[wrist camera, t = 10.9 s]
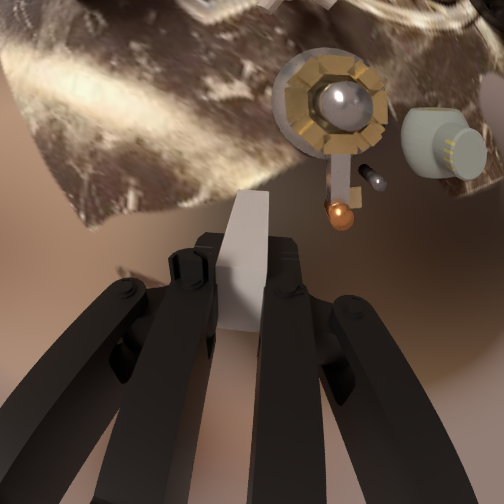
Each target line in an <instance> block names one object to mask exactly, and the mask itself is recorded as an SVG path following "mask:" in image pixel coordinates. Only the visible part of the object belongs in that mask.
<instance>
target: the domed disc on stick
mask: <svg viewBox="0 0 504 504" xmlns="http://www.w3.org/2000/svg"><path fill="white" fill-rule="evenodd" d="M322 76H335V77H344V78H345V79H346V80H347V81H349V82H354V83H357V84H359V85H361V86H362V87H363V88H364V89H365V90H366V91H367V92H368V93H369V95H370V96H371V99H372V102H373V115H372V117H371V119H370V121H369V122H368V124H367V125H365V126H364V127H363V128H361V129H359V130H354V131H324V130H323V129H322V128H321V127H320V126H319V125H318V124H317V123H315V122H314V121H313V120H312V119H311V118H310V117H309V108H308V94H307V91H308V90H309V89H310V88H311V87H312V86H313V85H314V84H315V83H316V82H317V81H318V80H319V79H320V78H321V77H322ZM380 79H381V77H380V76H379V75H378V74H377V73H376V72H375V71H374V70H373V69H372V68H371V67H367V66H366V65H365V64H364V63H363V62H362V61H361V60H357V61H354V57H351V56H337V55H317V56H316V57H314V59H313V58H312V57H311V58H310V59H309V60H308V61H307V62H306V63H305V64H304V65H303V66H302V67H301V68H300V69H299V70H298V71H297V72H296V73H295V74H294V75H293V76H292V77H291V78H290V79H289V80H288V81H287V82H286V83H287V84H288V85H289V86H290V87H285V88H284V96H285V107H286V120H287V121H288V122H292V123H291V124H290V125H289V126H290V127H291V128H292V129H293V130H294V131H295V132H296V133H297V134H299V135H300V136H301V137H302V138H303V139H304V140H305V141H306V142H308V143H309V144H310V145H311V146H312V147H313V148H314V149H315V150H316V151H317V152H318V151H319V150H321V152H322V153H323V154H326V163H327V164H326V165H327V166H326V170H327V171H326V172H327V191H326V193H327V194H326V200H325V202H324V208H325V210H326V213H327V215H328V217H329V219H330V222H331V224H332V226H333V227H334V228H335V229H336V230H340V231H343V230H347V229H349V228H350V227H351V226H352V225H353V223H354V214H353V212H352V211H351V209H350V207H349V196H350V162H351V154H357V150H358V149H359V150H361V151H362V152H364V151H365V150H366V149H367V148H368V147H369V146H372V147H373V146H374V145H375V144H376V143H377V142H378V141H379V140H380V139H381V138H382V136H381V133H383V132H384V131H385V129H384V127H383V126H382V125H381V124H387V123H388V108H387V91H382V90H380V89H381V88H382V87H383V86H384V84H383V83H382V82H381V81H380Z"/></svg>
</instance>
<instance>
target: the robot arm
mask: <svg viewBox="0 0 504 504" xmlns="http://www.w3.org/2000/svg"><path fill="white" fill-rule="evenodd" d="M470 1H471V2H472V4H473V5H474V6H475V8H476V9H477V10H478V11H479V12H480V14H481V15H482V16H483V17H484V18H485V19H486V20H487V21H488V22H489V23H491V24H492V25H493V26H494V27H496V28H497V29H499V30H501V31H503V32H504V0H470ZM268 207H269V192H267V191H254V190H238V193H237V197H236V200H235V203H234V206H233V209H232V213H231V216H230V219H229V222H228V226H227V229H226V232H225V234H223V233H209V232H205V233H204V234H203V235H202V236H200V237H199V238H198V239H197V242H196V244H195V247H194V248H186V249H182V250H178V251H176V252H175V253H173V254H172V255H171V256H170V257H169V258H168V261H169V268H170V275H171V282H170V285H167V286H164V287H159V288H150V289H146V286H145V284H144V283H143V281H141V280H139V279H137V278H131V277H130V278H122V279H120V280H117V281H115V282H114V283H112V284H111V285H110V286H109V287H108V288H107V289H106V290H104V291H103V292H102V293H101V294H100V295H99V296H98V297H97V298H96V299H95V300H94V301H93V302H92V303H91V305H89V306H88V307H87V309H85V310H84V311H83V313H82V314H81V315H80V316H79V317H78V318H77V319H76V320H75V321H74V322H73V323H72V324H71V325H70V326H69V327H68V328H67V330H65V331H64V333H63V334H62V335H61V336H60V337H59V338H58V339H57V340H56V341H55V342H54V343H53V345H52V346H51V347H50V348H49V349H48V350H47V351H46V352H45V354H44V355H43V356H42V357H41V358H40V359H39V361H38V362H37V363H36V364H35V365H34V366H33V367H32V369H31V370H30V371H29V372H28V374H27V375H26V376H25V377H24V378H23V380H22V381H21V382H20V383H19V385H18V386H17V387H16V388H15V390H14V391H13V392H12V393H11V395H10V396H9V397H8V398H7V400H6V401H5V402H4V404H3V405H2V407H1V408H0V504H59V503H60V501H61V499H62V498H63V496H64V494H65V493H66V491H67V490H68V488H69V486H70V485H71V483H72V481H73V480H74V478H75V477H76V475H77V473H78V472H79V470H80V469H81V467H82V465H83V464H84V462H85V461H86V459H87V458H88V456H89V454H90V453H91V451H92V450H93V448H94V447H95V445H96V444H97V442H98V440H99V439H100V437H101V435H102V434H103V433H104V431H105V430H106V428H107V427H108V425H109V424H110V422H111V420H112V419H113V417H114V416H115V414H116V413H117V411H118V410H119V412H118V415H117V418H116V422H115V424H114V427H113V430H112V433H111V437H110V440H109V443H108V446H107V449H106V453H105V456H104V460H103V463H102V466H101V470H100V473H99V477H98V481H97V485H96V488H95V492H94V496H93V499H92V501H91V502H90V504H187V502H188V496H189V489H190V483H191V477H192V471H193V464H194V459H195V453H196V447H197V441H198V435H199V430H200V424H201V418H202V412H203V407H204V402H205V396H206V390H207V385H208V380H209V375H210V369H211V364H212V359H213V353H214V348H215V343H216V334H215V331H216V326H217V321H218V328H220V329H230V330H240V331H252V332H260V334H259V344H258V352H257V357H258V358H257V373H256V387H255V402H254V417H253V430H252V443H251V455H250V456H251V457H250V468H249V480H248V492H247V503H246V504H327V503H326V502H327V500H326V469H325V468H326V467H325V449H324V448H325V447H324V433H323V418H322V405H321V395H320V384H319V378H320V381H321V383H322V386H323V388H324V391H325V393H326V396H327V399H328V401H329V404H330V406H331V409H332V412H333V414H334V417H335V420H336V422H337V425H338V427H339V430H340V433H341V436H342V438H343V441H344V443H345V446H346V449H347V451H348V454H349V457H350V460H351V462H352V465H353V468H354V470H355V473H356V475H357V479H358V481H359V484H360V487H361V490H362V492H363V495H364V498H365V501H366V504H478V501H477V498H476V496H475V493H474V491H473V488H472V486H471V483H470V481H469V479H468V476H467V474H466V472H465V470H464V467H463V465H462V463H461V461H460V459H459V456H458V454H457V452H456V450H455V448H454V446H453V444H452V442H451V440H450V438H449V436H448V434H447V432H446V430H445V428H444V426H443V424H442V422H441V420H440V418H439V416H438V414H437V413H436V411H435V409H434V407H433V405H432V403H431V402H430V400H429V398H428V396H427V394H426V392H425V391H424V389H423V387H422V385H421V384H420V382H419V380H418V379H417V377H416V375H415V374H414V372H413V370H412V368H411V367H410V365H409V364H408V362H407V360H406V358H405V357H404V355H403V353H402V352H401V350H400V349H399V347H398V346H397V344H396V342H395V341H394V339H393V337H392V336H391V335H390V333H389V331H388V330H387V328H386V327H385V325H384V324H383V322H382V321H381V319H380V317H379V316H378V314H377V313H376V311H375V310H374V308H373V307H372V306H371V305H370V304H369V303H368V302H367V301H366V300H364V299H362V298H361V297H357V296H354V295H344V296H340V297H338V298H337V299H336V300H335V301H334V303H329V302H326V301H322V300H320V299H317V298H315V297H313V296H312V295H310V294H309V293H308V290H307V288H306V286H305V285H304V284H303V283H302V276H301V268H300V261H299V255H298V248H297V244H296V243H295V242H294V241H293V240H292V238H285V237H273V236H268V209H269V208H268ZM119 408H120V409H119Z"/></svg>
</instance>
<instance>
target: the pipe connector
mask: <svg viewBox="0 0 504 504" xmlns="http://www.w3.org/2000/svg"><path fill="white" fill-rule="evenodd" d="M283 1H284V0H261V1H260V2H259V3H258V5H257V8H258V9H260V10H261V11H263V12H264V13H267V14H270V15H271V14H272V13H273V12H274V11H275V10H276V9H277V8H278V7H279V5H280V4H281V3H282V2H283ZM286 1H292V0H286ZM312 1H314V2H316V3H317V4H319V5H321V6H322V7H324V8H325V9H327V10H329V9H330V8H331V7H332V6H333V5H334V4H335V3H336V1H337V0H312Z"/></svg>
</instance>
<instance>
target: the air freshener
mask: <svg viewBox="0 0 504 504" xmlns="http://www.w3.org/2000/svg"><path fill="white" fill-rule="evenodd" d="M401 146H402V150H403V154H404V157H405V159H406V161H407V163H408V164H409V166H410V167H411V169H412V170H413V171H414V172H415V173H416V174H417V175H419V176H421V177H426V178H450V177H455V176H456V177H458V178H459V179H461V180H464V181H471V180H474V179H475V178H477V177H478V176H479V175H480V174H481V172H482V171H483V169H484V167H485V164H486V159H487V151H486V145H485V143H484V140H483V138H482V136H481V135H480V134H479V133H478V132H477V131H476V130H474V129H471V128H469V126H468V123H467V121H466V119H465V118H464V116H463V115H462V114H461V112H460V111H459V110H456V109H450V108H433V107H426V108H412V109H410V111H409V112H408V113H407V115H406V117H405V119H404V122H403V124H402V129H401Z"/></svg>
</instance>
